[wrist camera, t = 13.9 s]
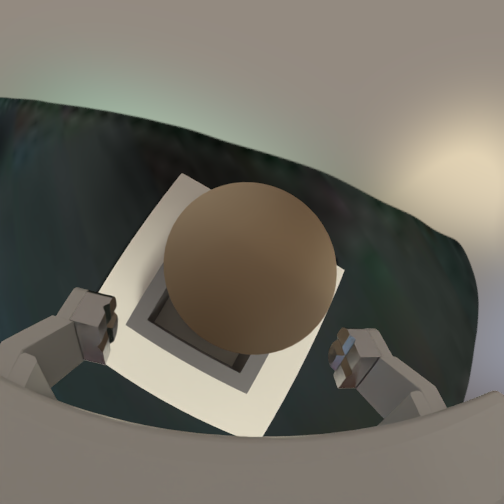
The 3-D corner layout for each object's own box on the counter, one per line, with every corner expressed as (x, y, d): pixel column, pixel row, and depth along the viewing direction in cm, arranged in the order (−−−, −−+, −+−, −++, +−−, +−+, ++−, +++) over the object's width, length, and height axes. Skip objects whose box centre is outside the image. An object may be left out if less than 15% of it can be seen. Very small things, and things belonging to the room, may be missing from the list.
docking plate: (78, 338, 18) (52, 339, 14) (181, 180, 24) (181, 148, 19) (254, 438, 19) (270, 461, 14) (337, 273, 24) (367, 260, 20)
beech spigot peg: (171, 318, 19) (128, 293, 6) (202, 266, 21) (223, 155, 7) (225, 348, 19) (291, 384, 6) (253, 297, 21) (357, 236, 8)
